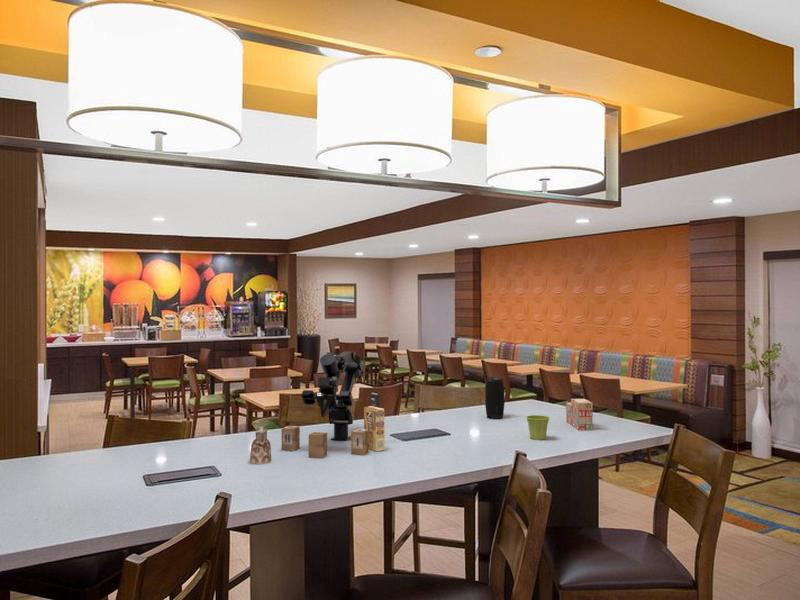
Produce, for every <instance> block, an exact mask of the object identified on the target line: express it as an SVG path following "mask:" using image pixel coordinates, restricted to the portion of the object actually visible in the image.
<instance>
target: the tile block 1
mask: <svg viewBox="0 0 800 600" xmlns="http://www.w3.org/2000/svg"><path fill="white" fill-rule="evenodd" d="M300 427H301V426H297V425H287V426H285V427H283V428H281V451H285V452H286V451H287V452H295V451H297V450H299V449H300V445H301V444H300V441H301V440H300V439H301V438H300V435H301V434H300V431H301V430H300Z"/></svg>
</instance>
